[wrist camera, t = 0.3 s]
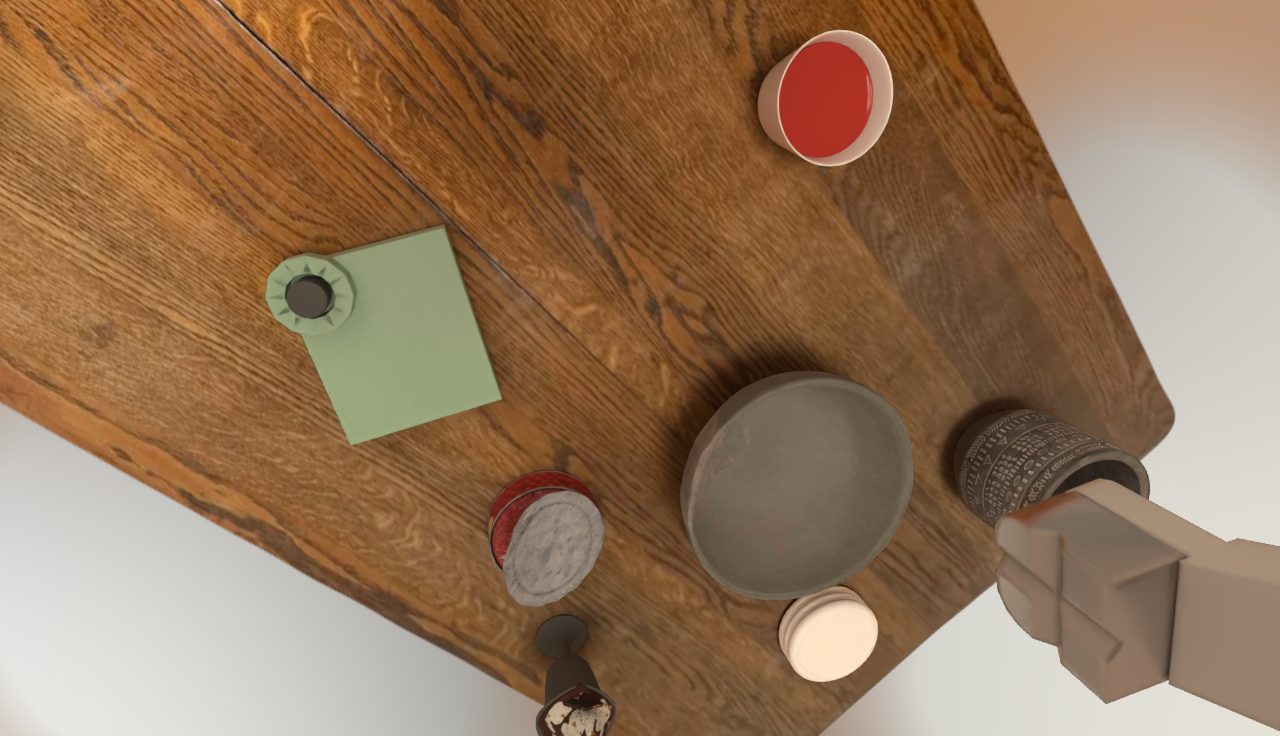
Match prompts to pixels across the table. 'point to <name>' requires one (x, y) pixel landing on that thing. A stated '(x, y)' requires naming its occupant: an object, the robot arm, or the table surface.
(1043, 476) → the planter
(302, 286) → the button
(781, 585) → the bowl
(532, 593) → the canned food
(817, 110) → the cup with red liquid
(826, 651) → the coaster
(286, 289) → the scale
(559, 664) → the sundae
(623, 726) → the table surface
